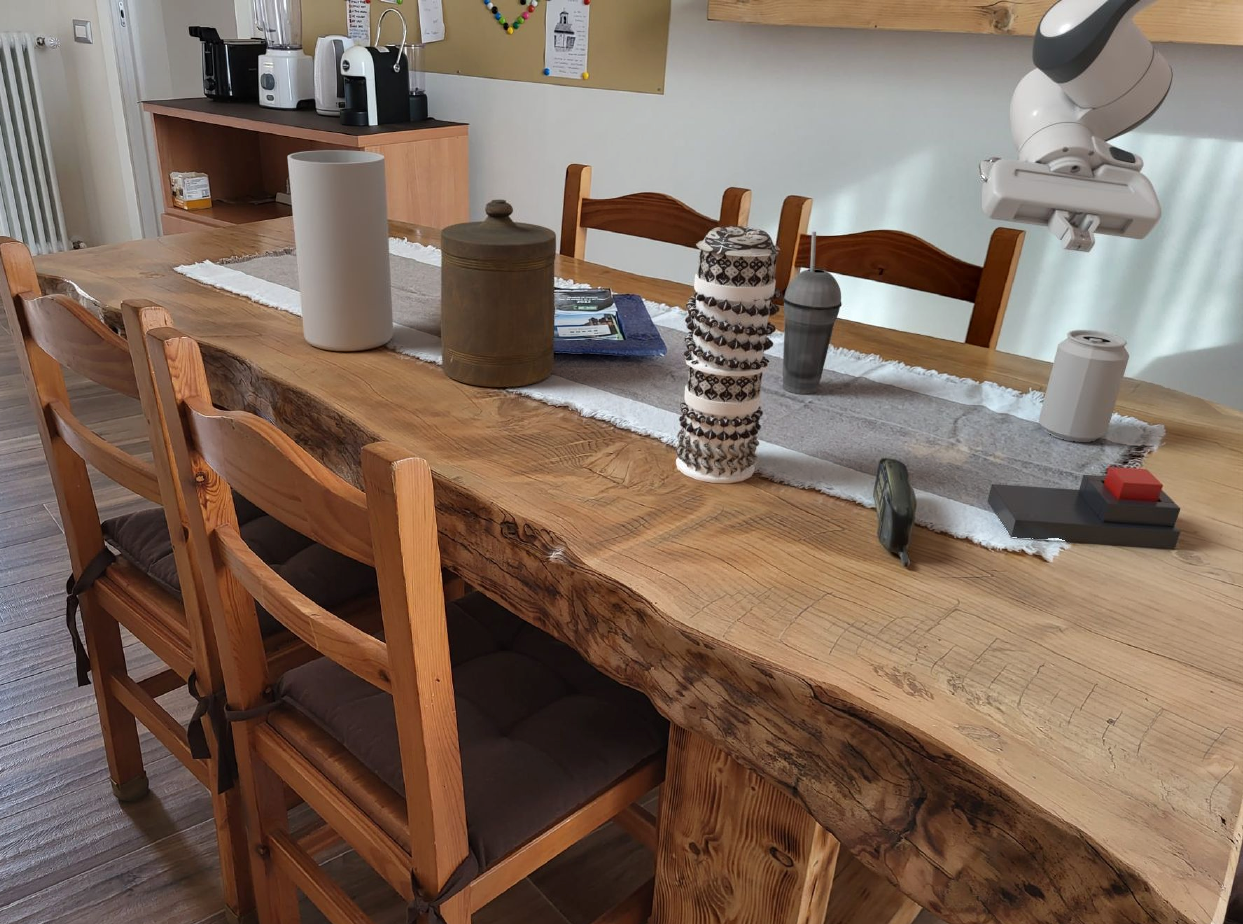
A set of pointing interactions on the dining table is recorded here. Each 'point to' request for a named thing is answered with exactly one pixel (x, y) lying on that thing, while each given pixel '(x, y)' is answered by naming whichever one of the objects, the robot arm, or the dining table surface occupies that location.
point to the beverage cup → (808, 326)
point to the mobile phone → (895, 507)
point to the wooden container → (497, 300)
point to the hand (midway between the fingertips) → (1079, 246)
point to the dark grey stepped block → (1086, 515)
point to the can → (1084, 385)
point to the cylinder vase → (342, 248)
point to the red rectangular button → (1132, 484)
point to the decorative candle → (727, 354)
